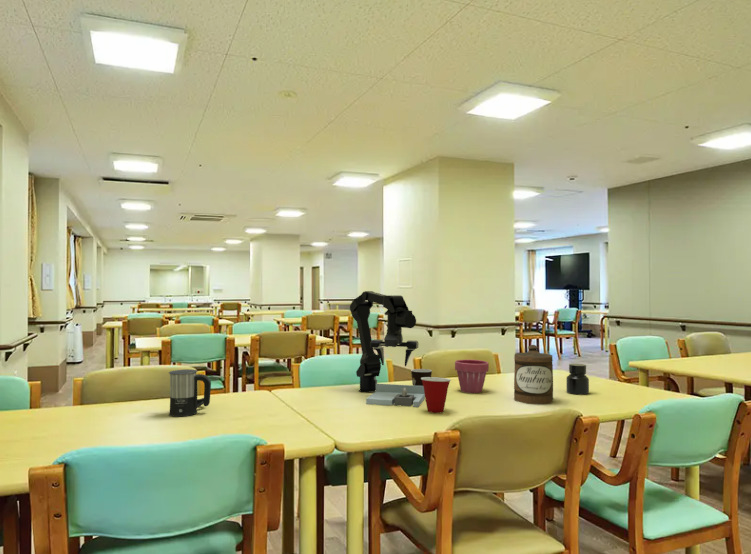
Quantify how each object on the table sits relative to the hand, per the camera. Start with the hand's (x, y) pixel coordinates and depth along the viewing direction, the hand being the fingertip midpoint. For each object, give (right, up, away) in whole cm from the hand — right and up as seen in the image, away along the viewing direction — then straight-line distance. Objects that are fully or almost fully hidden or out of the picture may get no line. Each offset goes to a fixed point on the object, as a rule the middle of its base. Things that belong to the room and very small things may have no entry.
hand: (394, 365), depth 213 cm
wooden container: (+55, -14, -2) cm, 57 cm away
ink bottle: (+79, -14, +14) cm, 81 cm away
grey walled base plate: (+1, -13, -6) cm, 14 cm away
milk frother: (-73, -12, -25) cm, 79 cm away
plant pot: (+34, -14, +16) cm, 40 cm away
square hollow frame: (+4, -13, -10) cm, 17 cm away
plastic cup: (+14, -13, -21) cm, 29 cm away
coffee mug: (+12, -14, +9) cm, 20 cm away
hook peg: (+4, -13, -10) cm, 17 cm away
